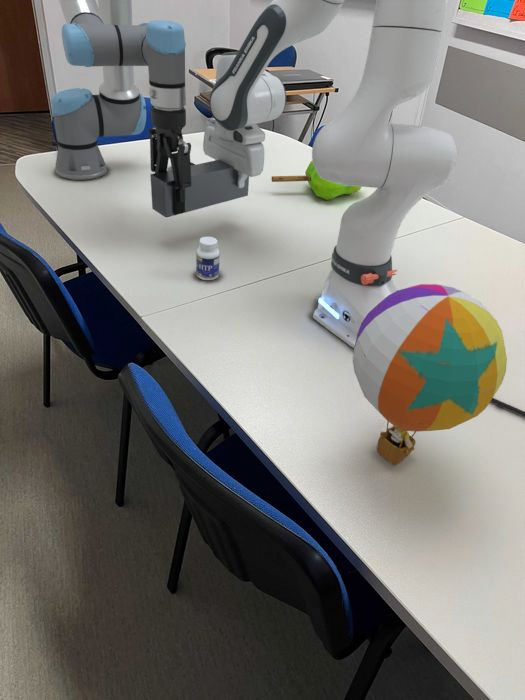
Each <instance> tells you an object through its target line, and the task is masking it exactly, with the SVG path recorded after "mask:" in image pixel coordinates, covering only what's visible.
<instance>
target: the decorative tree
mask: <svg viewBox="0 0 525 700" xmlns="http://www.w3.org/2000/svg"><path fill="white" fill-rule="evenodd" d="M271 182H272V183H282V182H288V183H289V182H307V183H308V185H309V186H310V188H311V190H312V191H313V193H314V195H315V196H316V197H318V198H321V199H323V200H326V201H329V200H332V199H334V198H336V197H337V198H338V197H339V196H342V195H352V194H355V193H357V192H359V191H360V190H361V189H362V187H360V186H346V185H341V184H338V183H334V182H331V181H327V180H324V179H322V178H321V177H320V176H319V175H318V173H317V172H316V170H315V167H314V165H313V160H311V161H310V162H309V164H308V166H307V167H306V169H305V175H278V176H277V175H272V176H271Z"/></svg>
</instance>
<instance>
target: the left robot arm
mask: <svg viewBox="0 0 525 700" xmlns="http://www.w3.org/2000/svg"><path fill="white" fill-rule="evenodd" d="M132 1H133V0H58V2H59V5H60V8H61V11H62V14H63V16H64V19H65V22H66V23H65V24H63V25H62V27H61V39H62V47H63V50H64V55H65V59H66V61H67V63H68V64H69V65H71V66H73V67H86V68H91V67H102V76H103V82H102V83H101V84H99V86H98V94H93V93H92V91H91V89H89V88H80V87H77V88H76V87H75V88H68V89H64V90H60V91H57V93H54V94H53V95H52V97H51V100H50V104H51V115H52V117H53V124H54V129H55V136H56V141H53V142H52V147H57V154H56V158H55V159H56V160H55V172H56V175H57V176H58V177H60V178H63V179H67V180H72V181H89V180H95V179H98V178H101V177H103V176H104V175H106V174H107V164H106V162H105V159H104V157H103V154H102V152H101V150H100V148H99V144H98V138H104V137H130V136H135V135H139V134H141V133H142V132H144V130H145V127H146V122H147V109H146V107H147V106H146V105H147V104H146V99H145V97H144V95H143V94H142V93H140V89H139V88H138V87H137V86H136V84H135V72H134V71H135V70H134V67H147V68H148V69H147V70H148V84H149V92H148V93H149V100H150V105H152V106H151V107H150V123H151V125H152V127H151V128H148V131H147V132H148V137H149V154H150V155H149V156H150V171H151V172H153V173H159V172H163V171H168V165H169V162H170V165H171V166H170V167H171V170H172V172H173V177H174V182H175V186H174V187H173V201H174V214H175V215H174V216H177V215H182V214H185V213H186V212H185V188H188V187H191V164H190V162H191V152H192V151H191V150H192V144H191V142H186V141H185V140H184V136H183V131H182V130H183V129H184V128H185V126H186V125H187V109H186V108H185V107H186V105H187V98H186V97H187V94H186V91H187V90H186V88H187V87H186V37H185V29H184V27H183V24H181V23H179V22H175V21H171V20H150V21H149V22H142V23H139V24H138V25H135V24H134V25H133V4H132V3H133V2H132ZM169 160H170V161H169Z"/></svg>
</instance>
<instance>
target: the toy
mask: <svg viewBox="0 0 525 700" xmlns="http://www.w3.org/2000/svg"><path fill="white" fill-rule="evenodd" d="M507 360H508V358H507V351H506V344H505V340H504V334H503V330H502V329H501V327H500V325H499V323H498V320H497V319H496V318H495V317H494V316H493V314H492V313H491V312H490V311H489V309H488V308H487V307H486V306H485V305H484V304H483V303H482V302H481V301H480V300H478V299H477V298H475V297H474V296H473V295H470V293H467V292H465V291H463V290H460V289H457V288H454V287H453V286H452V287H451V286H447V285H441V284H438V283H437V284H433V283H432V284H430V283H429V284H428V283H426V284H425V283H421V284H416V285H413V286H409V287H405V288H402V289H399V290H398V289H397V291H396V292H394V293H392V294H390V295H388V296H387V297H386V298H385V299H384V300H382V301H381V302H380V303H379V304H378V305H377V306H376V307H374V308H373V309H372V310H371V311H370V312H369V313H368V314H367V316H366V317H365V319H364V320H363V322H362V323H361V326H360V328H359V331H358V334H357V338H356V343H355V347H354V348H353V355H352V366H353V372H354V374H355V377H356V379H357V382H358V384H359V387H360V389H361V390H360V391H361V392H362V394H363V396H364V398H365V399H366V400H367V401H368V403H370V405H371V406H373V408H374V409H375V410H376V411H377V412H378V413H379V414H380V415H381V416H382V417H383V418H384V419H385V420H386V421H387V422H386V431H380V436H379V437H378V440H377V444H376V452H377V454H378V455H379V456H381V458H383V459H385V461H387V462H388V463H389V464H391V465H392V466H393V467H396V466H398V465H399V464H400V463H402V462H403V461H404V460H406V458H408V457H409V456H410V455H411V453H412V452H413V451H414V450H415V445H416V439H415V438H414V436H415V434H416V433H417V432H432V431H433V432H434V431H443V430H451V429H453V428H455V427H457V426H459V425H461V424H464V423H465V422H467V421H470V420H472V419H474V418H476V417H478V416H479V415H480V414H481V413H483V412H484V411H485V410H486V409H487V408H488V406H489V404H490V403H491V400H492V398H494V397H495V395H496V394H497V392H498V390H499V389H500V387H501V386H502V384H503V382H504V378H505V376H506V373H507V362H508V361H507ZM389 423H390V424H391V425H392V426H391V427H389ZM409 432H413V433H412V435H410V433H409Z"/></svg>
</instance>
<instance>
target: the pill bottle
mask: <svg viewBox="0 0 525 700" xmlns="http://www.w3.org/2000/svg"><path fill="white" fill-rule="evenodd" d="M198 243H199V245H198V248H197V249H196V253H195V256H196V259H195V260H196V263H195V264H196V267H195V268H196V270H195V271H196V272H195V274H196V277H197V278H198V279H201V280H203V281H213V280H216V279H217V278H218V277H219V276H220V259H221V257H220V256H221V253H220V252H221V251H220V249H219V248H218V239H217V238H216V237H214V236H202V237H200V238H199V242H198Z"/></svg>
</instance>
